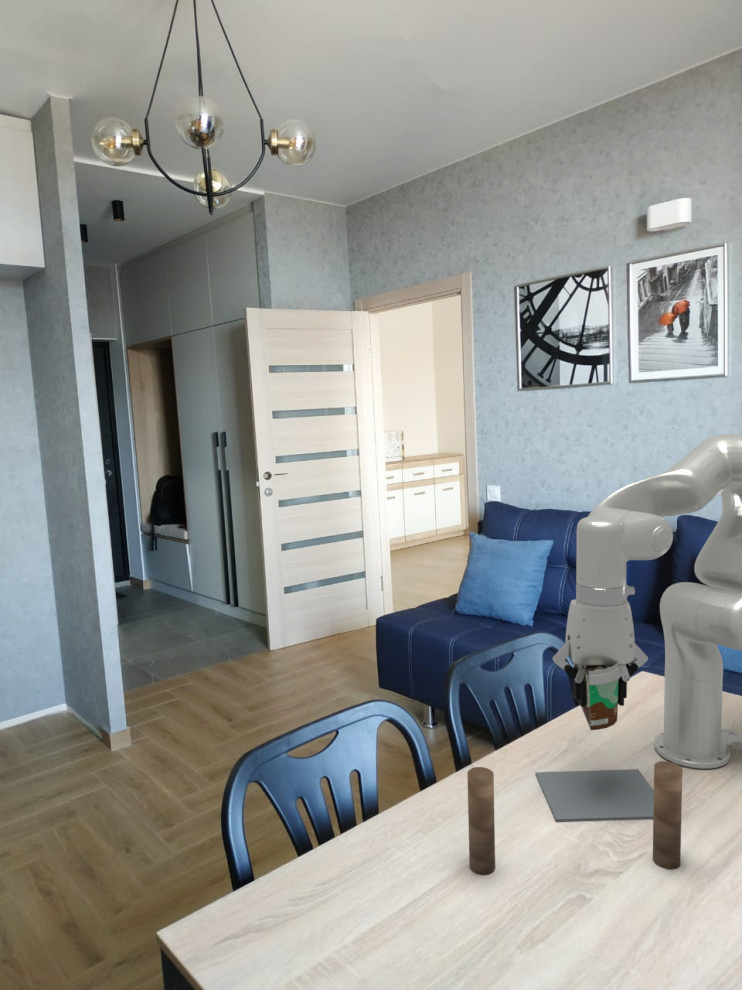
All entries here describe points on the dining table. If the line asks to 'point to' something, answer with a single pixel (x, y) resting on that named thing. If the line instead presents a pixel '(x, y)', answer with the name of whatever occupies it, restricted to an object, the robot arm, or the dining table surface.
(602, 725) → the food container
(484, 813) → the walnut post
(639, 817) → the charcoal mat
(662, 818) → the walnut post
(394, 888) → the dining table surface
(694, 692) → the robot arm
